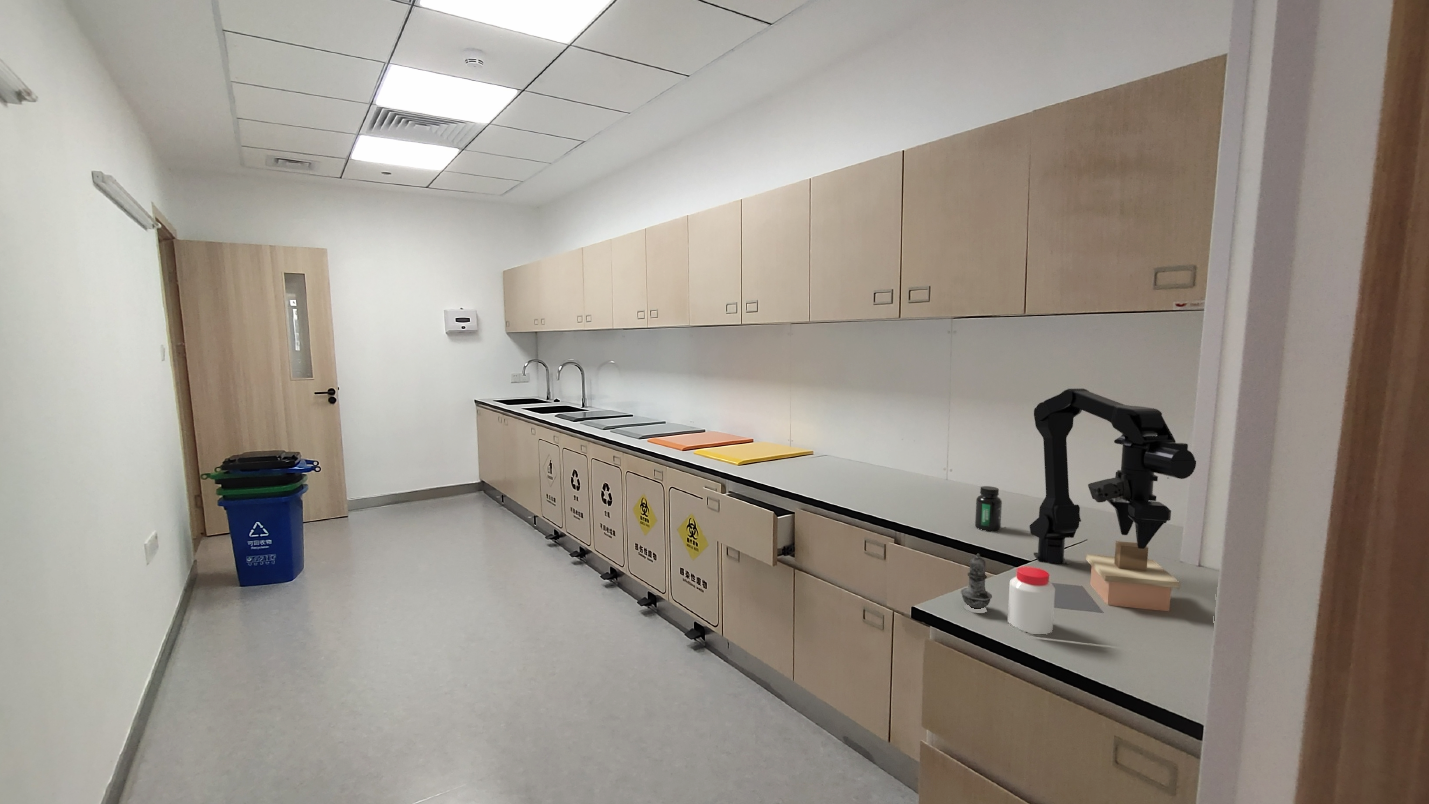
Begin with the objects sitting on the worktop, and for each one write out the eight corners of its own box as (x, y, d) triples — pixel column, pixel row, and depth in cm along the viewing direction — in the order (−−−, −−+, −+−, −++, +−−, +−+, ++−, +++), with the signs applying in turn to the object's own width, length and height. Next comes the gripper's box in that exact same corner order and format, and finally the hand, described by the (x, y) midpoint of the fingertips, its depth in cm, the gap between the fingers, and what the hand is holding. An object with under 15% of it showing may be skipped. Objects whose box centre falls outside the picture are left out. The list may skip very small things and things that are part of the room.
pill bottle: (1038, 617, 122) (1041, 564, 121) (1061, 636, 114) (1065, 579, 113) (999, 618, 122) (1002, 564, 121) (1020, 637, 114) (1023, 579, 113)
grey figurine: (965, 601, 129) (967, 546, 128) (994, 609, 126) (997, 552, 124) (955, 611, 125) (958, 553, 123) (986, 619, 121) (989, 560, 120)
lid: (1085, 559, 138) (1087, 532, 138) (1152, 565, 135) (1154, 537, 134) (1104, 580, 126) (1107, 551, 125) (1179, 588, 122) (1181, 557, 122)
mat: (1013, 580, 141) (1013, 579, 140) (1082, 587, 137) (1082, 585, 137) (1026, 606, 127) (1027, 604, 127) (1103, 614, 123) (1103, 612, 123)
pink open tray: (1090, 587, 138) (1091, 561, 137) (1146, 592, 135) (1148, 566, 134) (1107, 607, 127) (1109, 579, 127) (1169, 614, 124) (1171, 585, 124)
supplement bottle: (987, 533, 175) (989, 491, 174) (969, 526, 182) (971, 486, 180) (1005, 530, 178) (1008, 489, 177) (987, 523, 184) (989, 484, 183)
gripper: (1080, 458, 139) (1076, 525, 141) (1109, 475, 121) (1104, 552, 123) (1136, 460, 136) (1132, 529, 138) (1174, 478, 118) (1168, 557, 120)
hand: (1132, 541), depth 130 cm, fingers open, 9 cm apart
